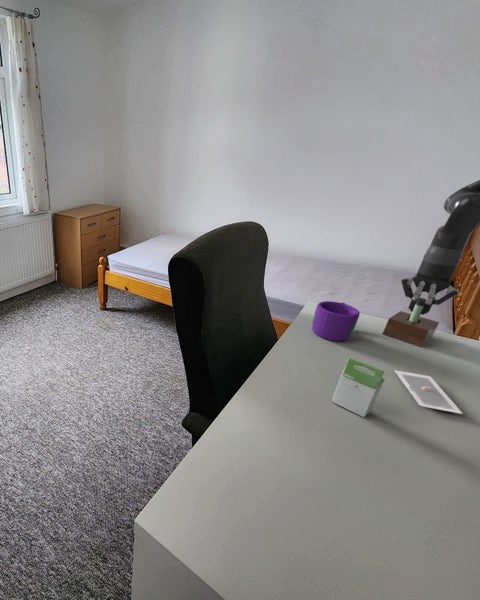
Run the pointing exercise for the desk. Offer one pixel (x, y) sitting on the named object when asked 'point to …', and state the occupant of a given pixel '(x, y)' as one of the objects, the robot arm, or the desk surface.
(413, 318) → the marker
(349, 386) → the ink box
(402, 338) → the pen stand
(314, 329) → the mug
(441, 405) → the touchpad
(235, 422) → the desk surface
